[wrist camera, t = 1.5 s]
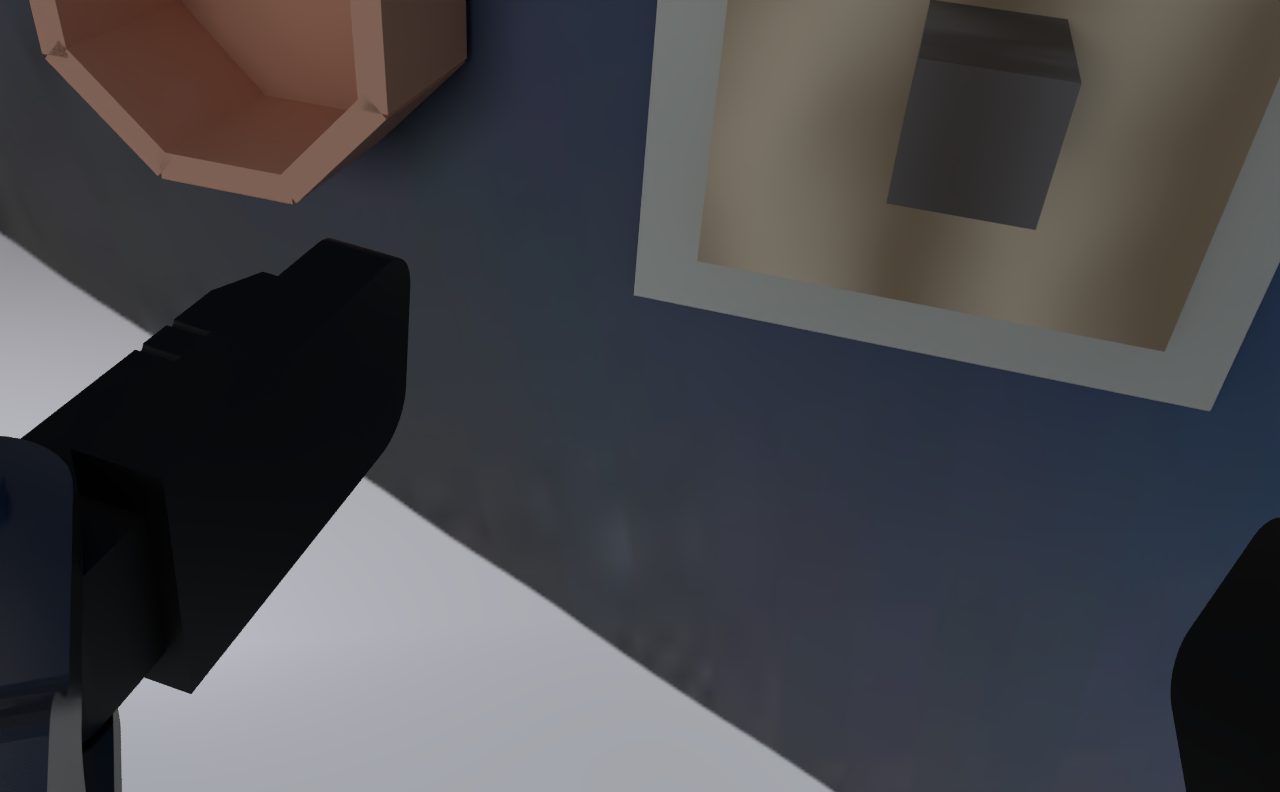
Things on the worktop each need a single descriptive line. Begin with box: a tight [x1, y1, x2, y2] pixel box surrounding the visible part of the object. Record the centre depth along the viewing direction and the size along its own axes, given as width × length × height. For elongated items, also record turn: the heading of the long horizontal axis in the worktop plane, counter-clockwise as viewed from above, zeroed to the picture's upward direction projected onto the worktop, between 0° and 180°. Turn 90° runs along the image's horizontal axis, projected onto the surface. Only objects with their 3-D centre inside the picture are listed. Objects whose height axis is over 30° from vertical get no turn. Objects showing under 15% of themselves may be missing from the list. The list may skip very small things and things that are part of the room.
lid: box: [697, 0, 1280, 352], centre depth 25 cm, size 13×13×6 cm
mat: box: [634, 0, 1280, 411], centre depth 27 cm, size 17×17×1 cm
